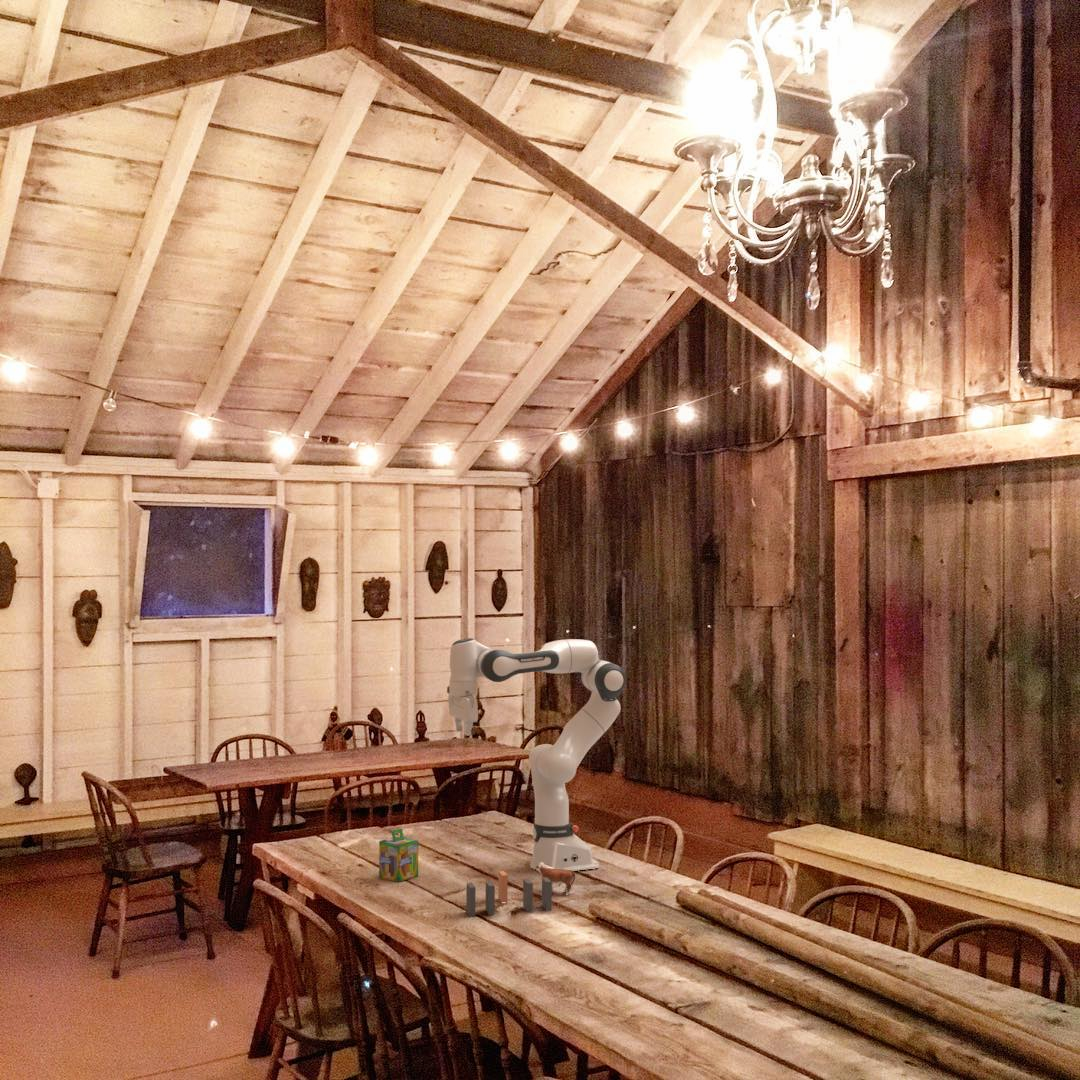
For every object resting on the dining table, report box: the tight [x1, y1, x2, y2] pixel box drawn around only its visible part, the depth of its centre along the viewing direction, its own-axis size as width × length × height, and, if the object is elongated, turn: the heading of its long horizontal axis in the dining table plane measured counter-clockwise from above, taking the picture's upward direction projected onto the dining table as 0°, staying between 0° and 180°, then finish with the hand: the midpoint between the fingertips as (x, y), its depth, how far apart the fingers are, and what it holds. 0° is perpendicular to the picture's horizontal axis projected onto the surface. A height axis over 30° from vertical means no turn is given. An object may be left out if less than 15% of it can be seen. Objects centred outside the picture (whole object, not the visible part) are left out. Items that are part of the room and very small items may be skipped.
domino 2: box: [485, 881, 496, 916], centre depth 305 cm, size 2×5×8 cm, turn 15°
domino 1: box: [465, 882, 476, 918], centre depth 304 cm, size 2×5×8 cm, turn 15°
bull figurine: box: [536, 862, 576, 895], centre depth 326 cm, size 4×13×8 cm, turn 59°
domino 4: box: [522, 878, 534, 913], centre depth 308 cm, size 2×5×8 cm, turn 15°
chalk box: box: [378, 828, 420, 883], centre depth 342 cm, size 9×9×15 cm
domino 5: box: [541, 877, 553, 911], centre depth 310 cm, size 2×5×8 cm, turn 15°
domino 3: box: [497, 870, 509, 903], centre depth 316 cm, size 2×5×8 cm, turn 15°
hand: (463, 733), depth 345 cm, fingers open, 8 cm apart
